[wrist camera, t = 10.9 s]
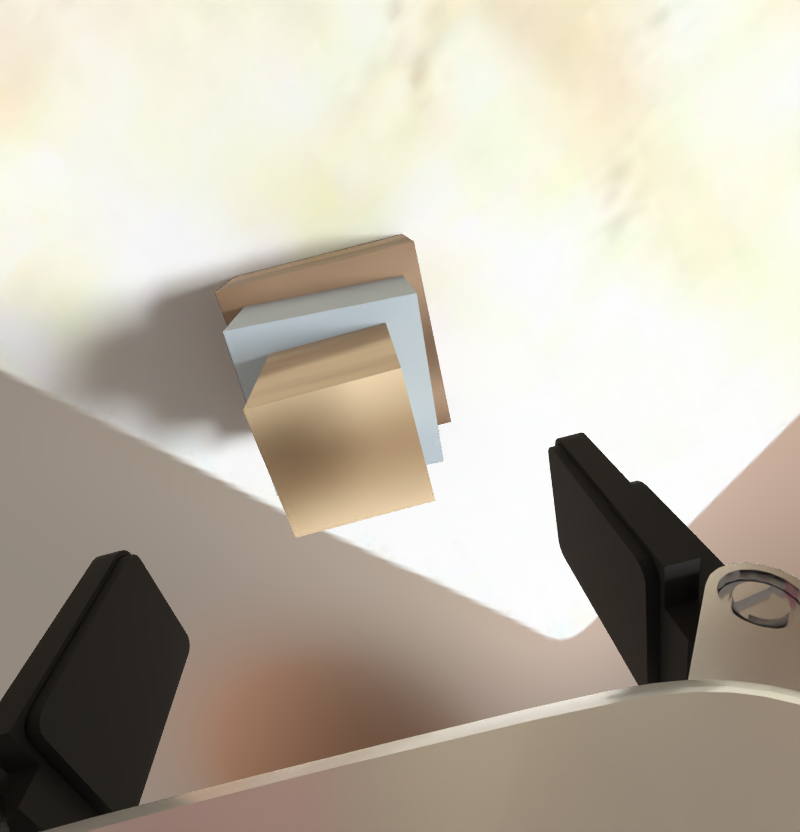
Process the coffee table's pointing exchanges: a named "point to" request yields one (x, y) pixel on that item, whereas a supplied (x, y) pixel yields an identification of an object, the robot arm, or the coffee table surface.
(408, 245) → the walnut base block
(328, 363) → the oak block
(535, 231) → the coffee table surface
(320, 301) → the slate cube
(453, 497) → the coffee table surface
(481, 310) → the coffee table surface
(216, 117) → the coffee table surface
